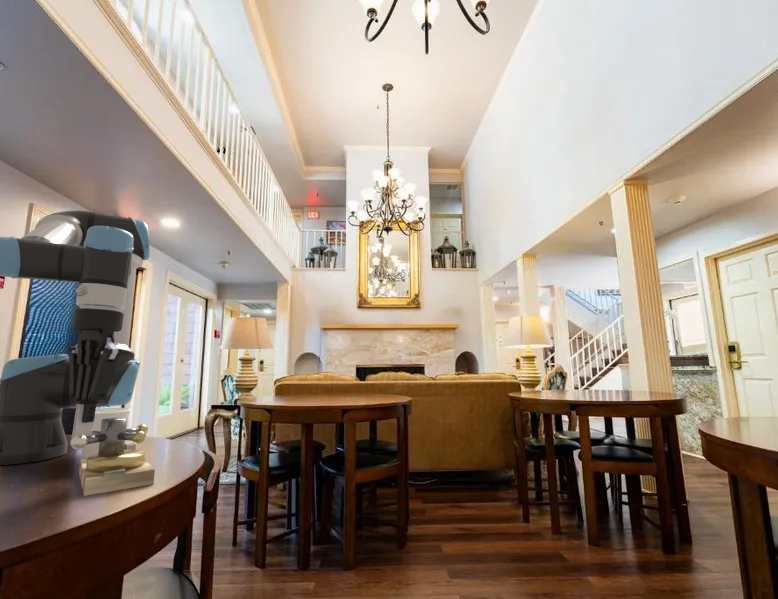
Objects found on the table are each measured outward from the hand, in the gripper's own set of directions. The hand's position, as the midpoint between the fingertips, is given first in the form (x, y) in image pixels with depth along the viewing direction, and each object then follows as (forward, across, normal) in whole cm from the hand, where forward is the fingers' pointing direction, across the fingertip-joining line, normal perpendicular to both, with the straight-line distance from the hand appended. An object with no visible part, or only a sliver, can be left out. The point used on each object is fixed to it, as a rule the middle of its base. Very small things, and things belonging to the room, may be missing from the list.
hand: (81, 440), depth 71 cm
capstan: (+5, +1, +5) cm, 7 cm away
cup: (+9, -16, +13) cm, 22 cm away
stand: (+8, 0, +6) cm, 10 cm away
